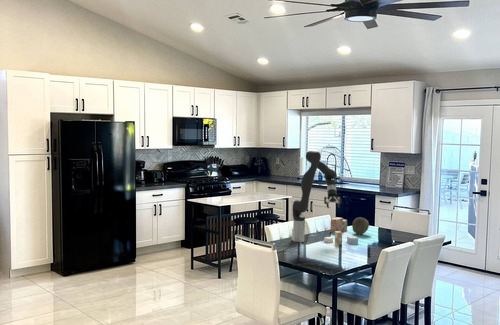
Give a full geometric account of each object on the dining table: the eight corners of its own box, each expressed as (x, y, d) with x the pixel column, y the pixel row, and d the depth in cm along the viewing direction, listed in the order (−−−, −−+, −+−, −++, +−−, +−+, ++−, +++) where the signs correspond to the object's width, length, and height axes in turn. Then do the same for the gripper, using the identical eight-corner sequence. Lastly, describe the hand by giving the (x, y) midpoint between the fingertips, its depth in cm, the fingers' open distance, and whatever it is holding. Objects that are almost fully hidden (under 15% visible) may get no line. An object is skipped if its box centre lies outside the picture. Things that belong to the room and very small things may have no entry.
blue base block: (349, 244, 382) (349, 238, 382) (346, 242, 389) (347, 236, 389) (357, 244, 383) (358, 238, 383) (355, 242, 390) (355, 236, 390)
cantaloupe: (360, 236, 413) (361, 219, 412) (348, 233, 424) (349, 216, 424) (371, 235, 420) (372, 218, 419) (359, 232, 432) (360, 215, 431)
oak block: (335, 244, 379) (336, 232, 378) (334, 243, 383) (335, 231, 383) (341, 244, 379) (341, 232, 378) (340, 243, 383) (340, 231, 383)
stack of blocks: (340, 228, 445) (341, 215, 444) (347, 229, 441) (347, 216, 440) (330, 232, 428) (330, 218, 427) (336, 233, 424) (336, 219, 423)
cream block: (324, 241, 389) (324, 237, 389) (328, 241, 392) (328, 236, 392) (329, 243, 385) (329, 238, 385) (332, 242, 389) (333, 237, 388)
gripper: (323, 188, 399) (325, 205, 389) (340, 188, 398) (342, 205, 388) (323, 194, 405) (324, 210, 395) (340, 193, 404) (341, 209, 394)
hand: (333, 207), depth 392 cm, fingers open, 8 cm apart
